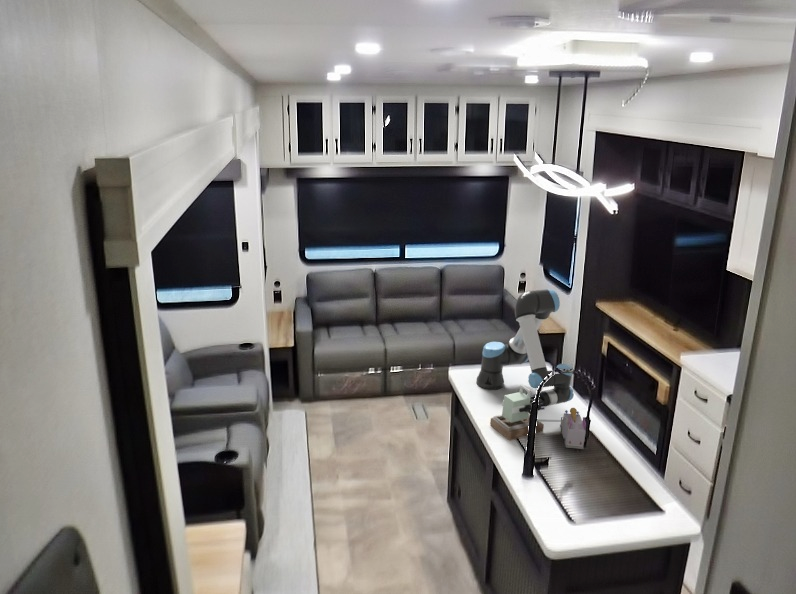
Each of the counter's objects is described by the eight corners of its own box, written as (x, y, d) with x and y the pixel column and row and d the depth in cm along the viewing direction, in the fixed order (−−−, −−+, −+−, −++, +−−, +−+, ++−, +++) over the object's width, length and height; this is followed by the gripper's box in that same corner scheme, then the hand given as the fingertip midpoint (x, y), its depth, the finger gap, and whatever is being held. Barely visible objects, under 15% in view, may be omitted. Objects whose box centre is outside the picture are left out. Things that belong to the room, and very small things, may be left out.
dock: (522, 416, 311) (523, 407, 310) (542, 431, 299) (544, 421, 297) (489, 424, 302) (491, 414, 300) (509, 440, 289) (510, 430, 288)
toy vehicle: (576, 431, 301) (581, 403, 297) (584, 453, 283) (589, 423, 278) (557, 429, 302) (561, 401, 297) (563, 451, 283) (568, 421, 279)
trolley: (518, 413, 303) (522, 384, 298) (527, 420, 297) (531, 390, 292) (501, 417, 298) (505, 387, 293) (510, 424, 292) (514, 394, 287)
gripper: (558, 414, 296) (520, 424, 286) (531, 396, 313) (494, 404, 302) (560, 400, 294) (522, 409, 284) (533, 383, 311) (496, 390, 300)
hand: (507, 407), depth 293 cm, fingers closed on trolley, 7 cm apart
